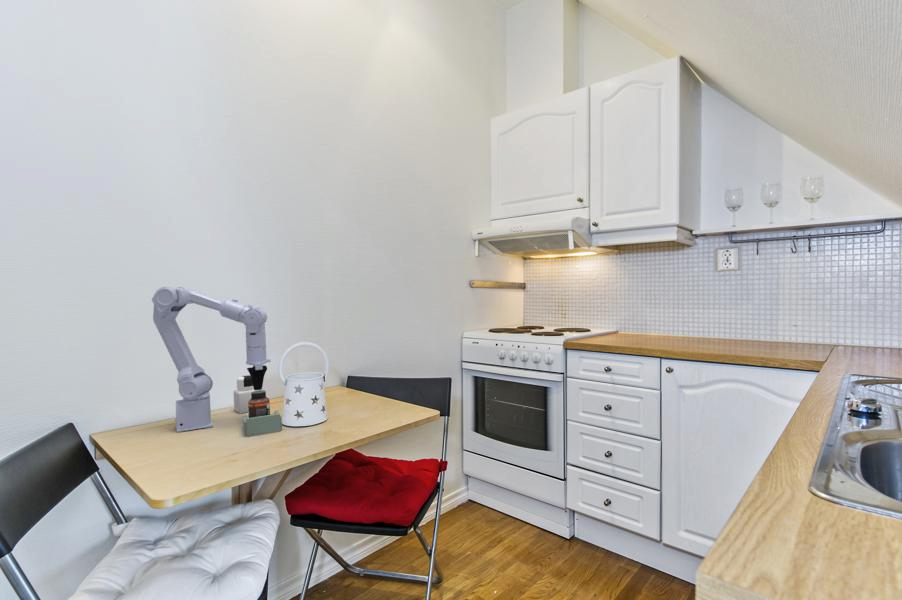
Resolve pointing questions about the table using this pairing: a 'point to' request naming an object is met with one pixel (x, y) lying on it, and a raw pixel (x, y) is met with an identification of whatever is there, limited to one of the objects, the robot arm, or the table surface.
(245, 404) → the medicine bottle
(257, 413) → the supplement bottle
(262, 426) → the holder
